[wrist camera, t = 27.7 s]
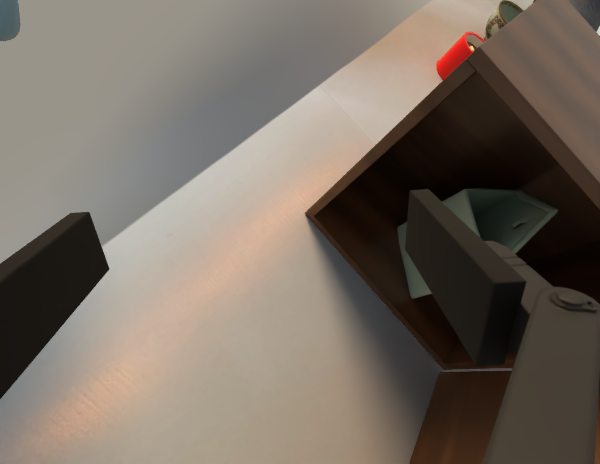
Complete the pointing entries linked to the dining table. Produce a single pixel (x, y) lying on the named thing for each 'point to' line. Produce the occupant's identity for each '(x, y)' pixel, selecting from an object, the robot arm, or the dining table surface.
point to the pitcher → (588, 11)
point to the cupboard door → (465, 418)
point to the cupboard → (486, 165)
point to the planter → (487, 223)
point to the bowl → (501, 17)
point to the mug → (458, 53)
